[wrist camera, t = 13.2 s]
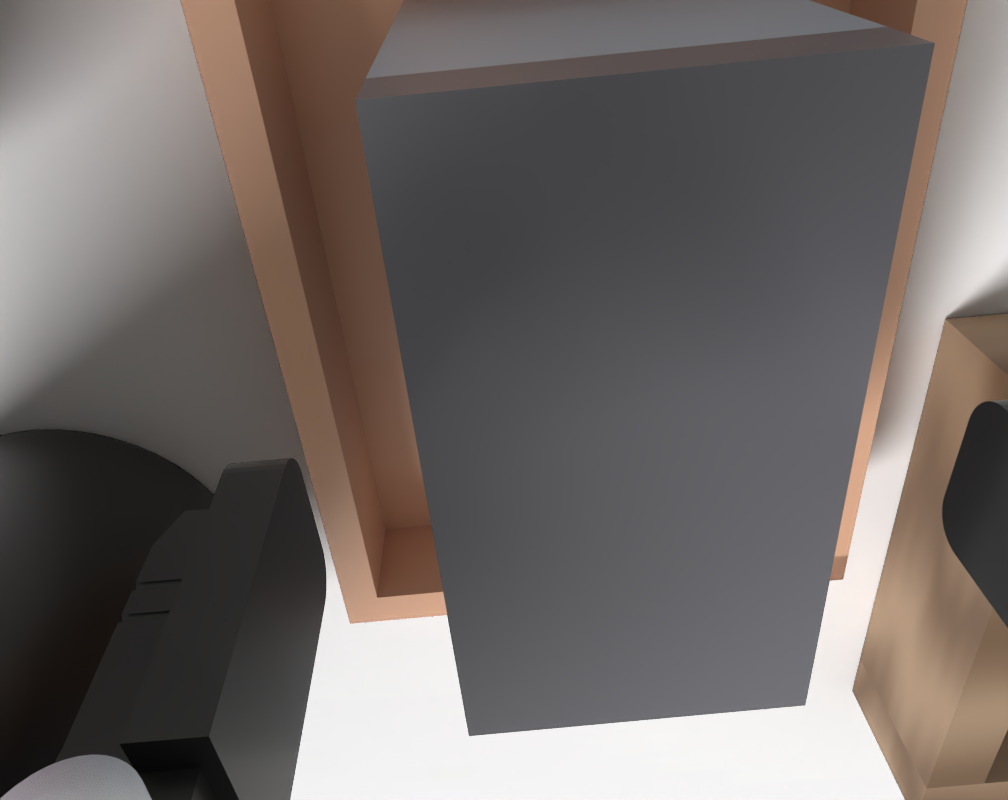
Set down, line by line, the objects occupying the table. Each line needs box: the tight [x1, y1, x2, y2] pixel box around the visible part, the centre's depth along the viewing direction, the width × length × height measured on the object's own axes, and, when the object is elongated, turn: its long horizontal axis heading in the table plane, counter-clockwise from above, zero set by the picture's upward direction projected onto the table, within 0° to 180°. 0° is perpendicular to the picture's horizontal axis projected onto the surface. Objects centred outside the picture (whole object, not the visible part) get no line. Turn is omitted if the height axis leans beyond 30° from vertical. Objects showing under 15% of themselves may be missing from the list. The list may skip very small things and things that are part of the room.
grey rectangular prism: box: [355, 0, 935, 736], centre depth 14 cm, size 10×6×8 cm, turn 5°
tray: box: [180, 0, 967, 623], centre depth 16 cm, size 17×12×3 cm
